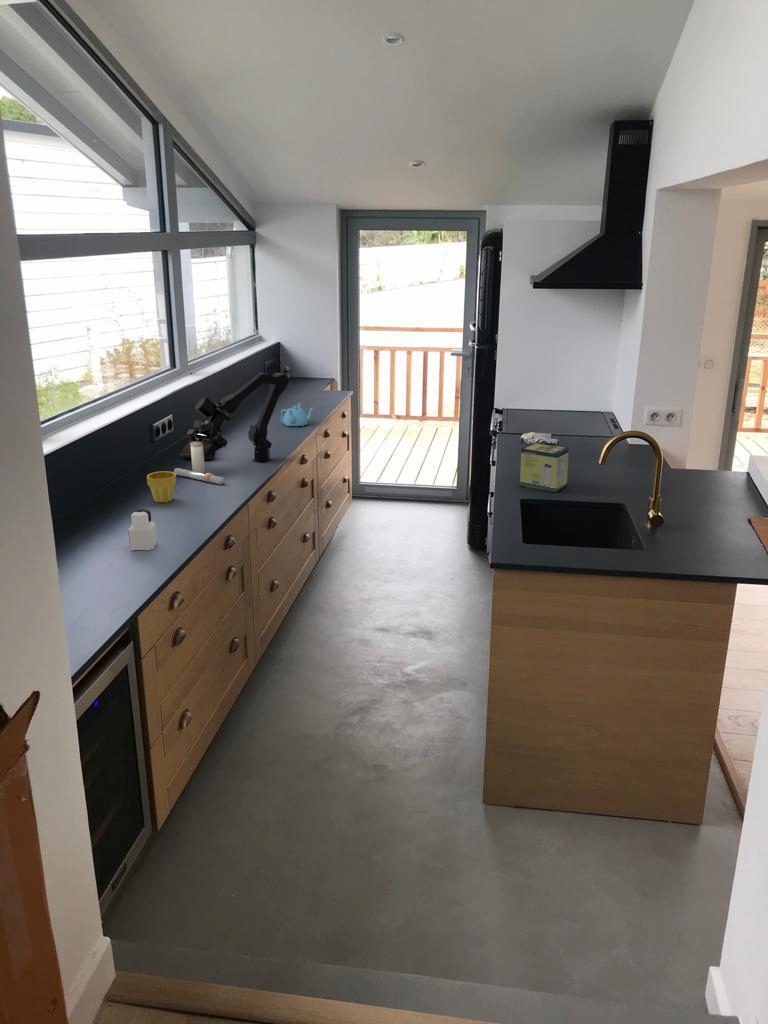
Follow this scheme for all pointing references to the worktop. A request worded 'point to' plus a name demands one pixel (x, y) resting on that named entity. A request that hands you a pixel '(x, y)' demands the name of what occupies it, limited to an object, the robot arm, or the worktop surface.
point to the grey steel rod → (200, 476)
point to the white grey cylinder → (197, 457)
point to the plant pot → (162, 485)
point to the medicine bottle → (142, 531)
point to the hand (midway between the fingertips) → (197, 455)
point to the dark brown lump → (205, 446)
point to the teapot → (296, 416)
